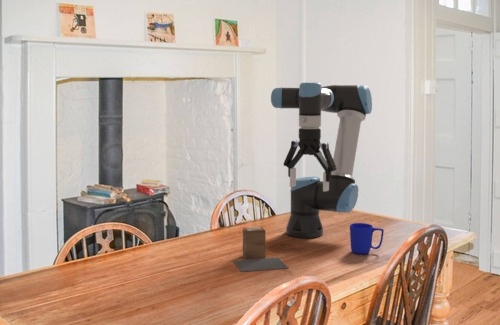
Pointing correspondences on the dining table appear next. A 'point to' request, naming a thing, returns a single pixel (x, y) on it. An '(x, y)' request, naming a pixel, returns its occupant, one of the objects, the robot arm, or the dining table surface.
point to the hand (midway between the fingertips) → (309, 188)
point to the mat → (260, 264)
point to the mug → (363, 237)
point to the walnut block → (253, 243)
